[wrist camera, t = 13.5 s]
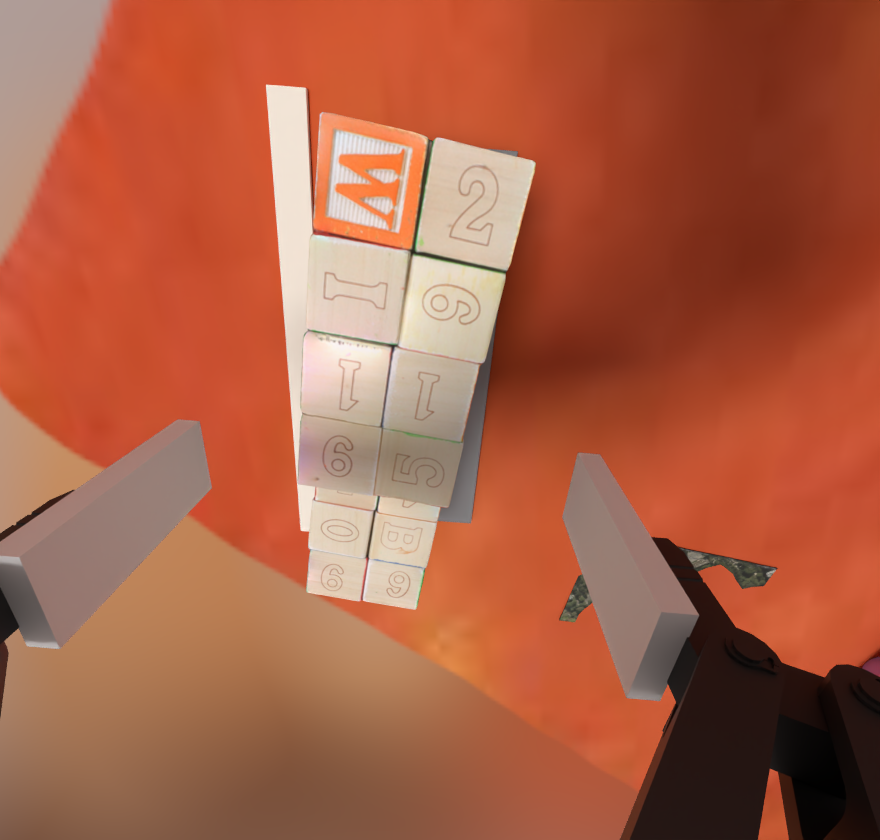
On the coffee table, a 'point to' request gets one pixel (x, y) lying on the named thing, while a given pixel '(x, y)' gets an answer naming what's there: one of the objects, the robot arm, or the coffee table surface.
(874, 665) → the teapot
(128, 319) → the coffee table surface
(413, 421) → the stack of blocks
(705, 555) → the eiffel tower figurine
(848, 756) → the robot arm
